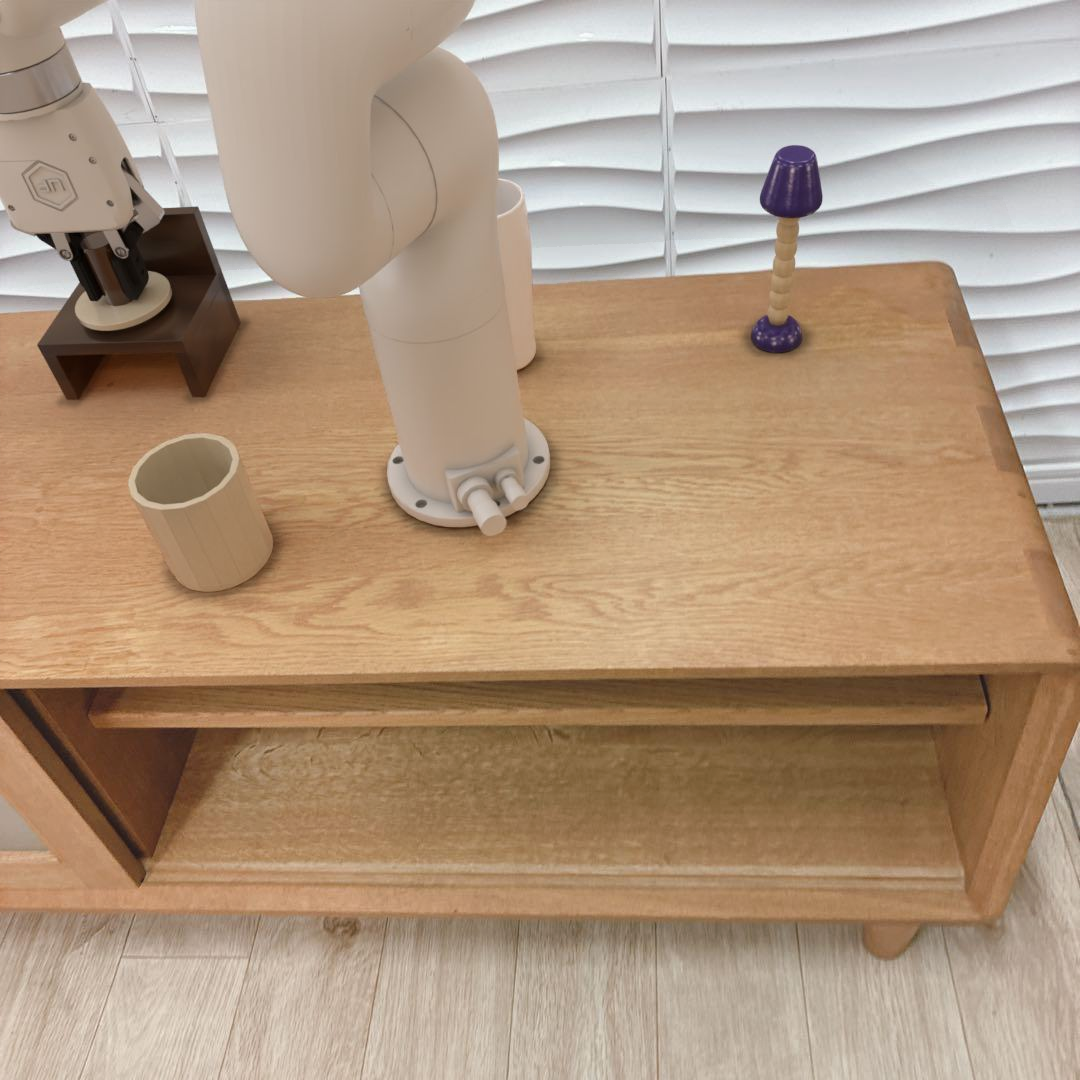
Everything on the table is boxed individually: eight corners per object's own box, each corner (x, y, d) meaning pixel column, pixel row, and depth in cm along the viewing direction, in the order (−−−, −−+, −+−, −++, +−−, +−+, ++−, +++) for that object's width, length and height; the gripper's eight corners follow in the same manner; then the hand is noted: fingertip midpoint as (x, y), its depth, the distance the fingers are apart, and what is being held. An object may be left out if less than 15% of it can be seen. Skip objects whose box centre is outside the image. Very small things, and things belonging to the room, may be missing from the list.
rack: (205, 396, 94) (155, 278, 85) (66, 400, 95) (3, 284, 87) (240, 322, 101) (198, 206, 92) (111, 326, 103) (58, 213, 94)
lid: (182, 317, 92) (153, 248, 87) (86, 348, 90) (51, 279, 85) (166, 272, 97) (138, 204, 92) (75, 300, 95) (42, 232, 91)
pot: (284, 568, 78) (249, 483, 72) (181, 606, 77) (137, 523, 71) (260, 504, 83) (226, 420, 77) (164, 539, 82) (121, 456, 76)
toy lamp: (807, 322, 92) (824, 135, 80) (810, 355, 89) (829, 166, 77) (750, 323, 93) (758, 139, 81) (751, 357, 89) (760, 169, 77)
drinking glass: (536, 383, 90) (514, 222, 79) (459, 380, 91) (427, 221, 81) (552, 335, 94) (533, 176, 84) (478, 332, 96) (450, 176, 85)
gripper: (-102, 108, 78) (14, 320, 91) (109, 95, 75) (196, 314, 89) (-53, 63, 83) (50, 270, 96) (146, 50, 81) (223, 264, 94)
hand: (119, 289), depth 92 cm, fingers closed on lid, 2 cm apart
